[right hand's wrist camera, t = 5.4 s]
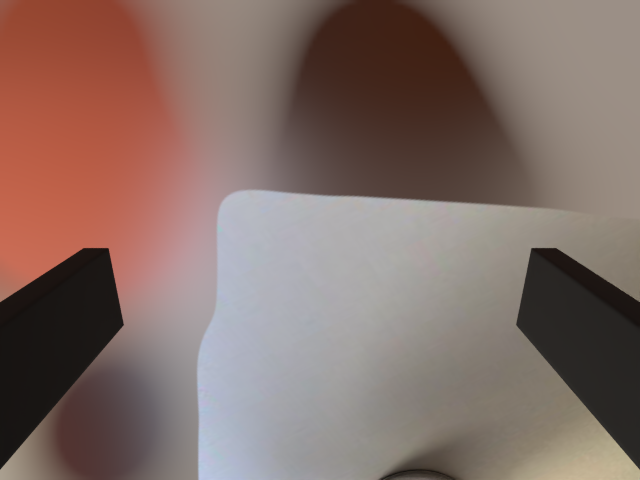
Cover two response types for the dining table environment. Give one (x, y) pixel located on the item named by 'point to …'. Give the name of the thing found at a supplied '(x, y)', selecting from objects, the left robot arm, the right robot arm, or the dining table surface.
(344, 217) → the dining table surface
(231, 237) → the dining table surface
